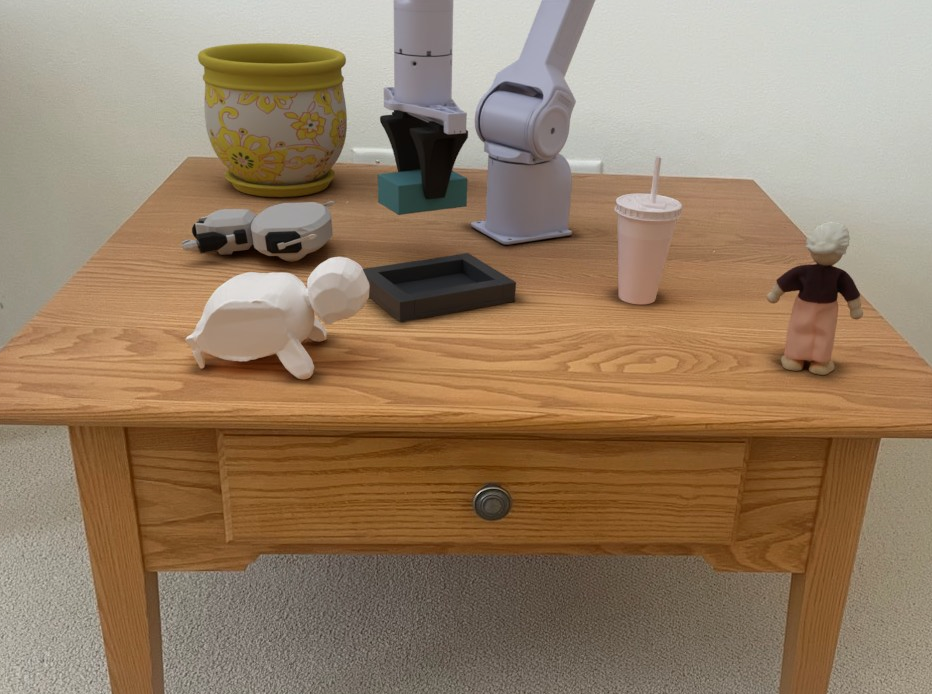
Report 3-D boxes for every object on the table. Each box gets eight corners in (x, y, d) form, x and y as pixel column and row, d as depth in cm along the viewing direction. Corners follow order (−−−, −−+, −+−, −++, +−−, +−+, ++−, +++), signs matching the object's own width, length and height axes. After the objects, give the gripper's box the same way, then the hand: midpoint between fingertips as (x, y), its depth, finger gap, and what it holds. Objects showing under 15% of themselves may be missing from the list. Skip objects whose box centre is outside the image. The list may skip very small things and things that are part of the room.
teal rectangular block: (444, 194, 104) (445, 166, 103) (467, 206, 101) (467, 178, 99) (377, 202, 101) (377, 173, 99) (398, 215, 97) (398, 185, 96)
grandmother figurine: (842, 360, 84) (877, 219, 78) (849, 379, 81) (886, 233, 75) (753, 351, 85) (780, 211, 79) (756, 369, 82) (785, 225, 76)
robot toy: (180, 275, 98) (325, 271, 98) (172, 233, 96) (320, 228, 96) (211, 238, 109) (342, 234, 108) (204, 199, 107) (338, 195, 106)
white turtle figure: (213, 409, 78) (383, 354, 75) (163, 318, 74) (340, 256, 71) (238, 365, 85) (394, 313, 83) (194, 279, 81) (355, 223, 79)
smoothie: (629, 313, 92) (647, 166, 85) (592, 291, 97) (606, 150, 90) (682, 304, 95) (704, 161, 88) (644, 282, 99) (661, 145, 93)
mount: (467, 271, 100) (468, 252, 100) (515, 301, 93) (516, 282, 92) (358, 288, 95) (357, 269, 94) (399, 322, 88) (399, 302, 87)
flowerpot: (339, 207, 119) (334, 67, 111) (194, 200, 119) (179, 60, 111) (357, 170, 135) (354, 46, 126) (230, 165, 134) (218, 40, 126)
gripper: (355, 43, 97) (359, 177, 104) (420, 65, 86) (419, 213, 93) (417, 41, 100) (417, 171, 107) (487, 62, 89) (482, 205, 96)
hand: (422, 190), depth 100 cm, fingers closed on teal rectangular block, 5 cm apart
